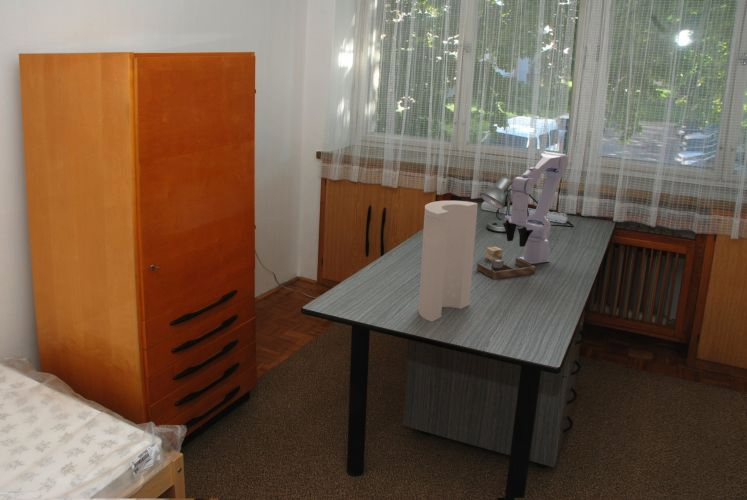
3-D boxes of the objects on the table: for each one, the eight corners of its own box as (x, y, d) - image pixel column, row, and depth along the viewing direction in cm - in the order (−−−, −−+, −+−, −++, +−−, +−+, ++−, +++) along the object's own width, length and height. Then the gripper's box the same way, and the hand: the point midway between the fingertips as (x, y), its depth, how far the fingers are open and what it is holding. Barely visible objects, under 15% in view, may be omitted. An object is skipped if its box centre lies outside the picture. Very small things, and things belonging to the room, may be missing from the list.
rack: (516, 264, 290) (517, 258, 290) (534, 273, 281) (535, 266, 280) (476, 269, 282) (477, 263, 282) (494, 278, 273) (494, 272, 272)
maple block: (494, 257, 298) (495, 246, 297) (501, 260, 295) (502, 249, 293) (485, 258, 297) (486, 247, 295) (492, 261, 293) (493, 250, 291)
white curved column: (471, 305, 246) (433, 322, 231) (444, 296, 253) (405, 312, 238) (479, 203, 235) (440, 214, 220) (451, 197, 243) (411, 207, 227)
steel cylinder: (497, 270, 282) (499, 258, 281) (504, 274, 278) (505, 261, 277) (488, 271, 280) (489, 259, 279) (495, 275, 276) (496, 262, 275)
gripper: (499, 205, 282) (496, 239, 286) (523, 214, 269) (519, 249, 273) (514, 204, 285) (510, 237, 289) (538, 212, 272) (534, 247, 276)
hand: (516, 243), depth 281 cm, fingers open, 7 cm apart
